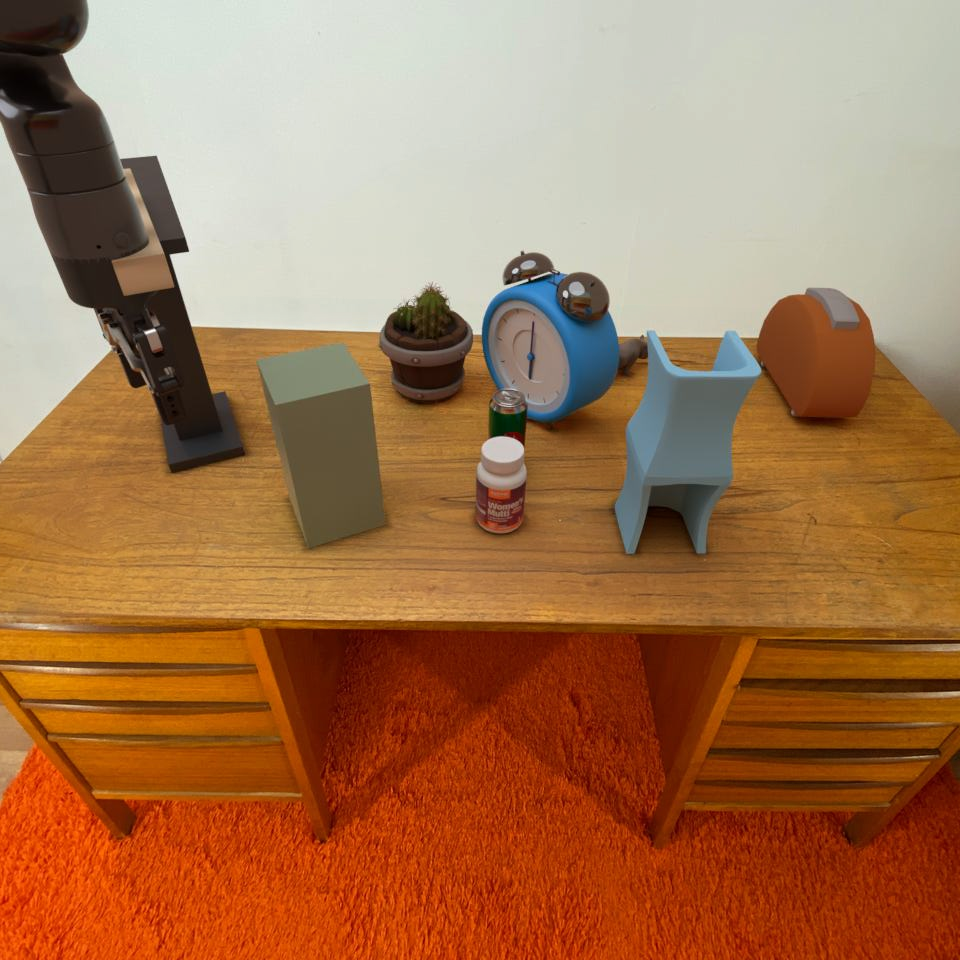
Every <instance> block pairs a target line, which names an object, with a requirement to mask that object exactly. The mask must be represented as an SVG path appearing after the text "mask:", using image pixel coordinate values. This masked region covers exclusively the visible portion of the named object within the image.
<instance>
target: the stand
mask: <svg viewBox="0 0 960 960" xmlns="http://www.w3.org/2000/svg"><path fill="white" fill-rule="evenodd" d="M120 161H121V164H122V167H123V169H129V168H130V169H131V172H132V174H133V177H134V179H135V182H136V184H137V187H138V189H139V192H140V194H141V197H142V199H143V202H144V204H145V207H146V209H147V212H148V214H149V217H150V219H151V222H152V224H153V227H154V229H155V232H156V234H157V237H158V239H159V242H160V244H161V247H162V249H163V252H164V254H165V258H166V261H167V264H168V267H169V271H170V274H171V277H172V280H173V284H174V288H168V289H162V290H159V291H158V292H157V293H156V294H155V295H153V296H151V297H150V298H149V299H148V300H147V301H146V303H145V307H146V308H147V310H148V312H151V311H153V312H154V314H155V316H156V318H157V320H158V322H159V324H160V325H163V326H164V327H165V328H166V329H167V331H168V336H169V339H170V342H171V345H172V348H173V351H174V353H175V356H176V359H177V362H178V365H179V368H180V371H181V374H182V377H183V378H184V380H185V386H186V387H184V388H181V389H178V390H179V393H180V396H181V399H182V402H183V405H184V408H185V411H186V414H187V417H186V418H185V419H184V420H182V421H179V422H177V423H174V424H171V425H165V424H164V423H163V422H162V420H161V418H160V417H159V418H160V424H161V430H162V436H163V441H164V448H165V454H166V459H167V465H168V468H169V470H170V473H171V474H173V473H178V472H180V471H185V470H188V469H193V468H197V467H200V466H205V465H208V464H213V463H217V462H220V461H225V460H228V459H233V458H237V457H240V456H245V455H246V452H245V448H244V445H243V441H242V438H241V435H240V432H239V430H238V426H237V423H236V420H235V417H234V414H233V411H232V408H231V407H232V406H231V405H230V402H229V398H228V395H227V392H226V390H223V391H219V392H212V389H211V386H210V382H209V379H208V376H207V373H206V369H205V366H204V363H203V359H202V357H201V353H200V349H199V346H198V343H197V339H196V337H195V334H194V329H193V327H192V323H191V320H190V317H189V314H188V309H187V306H186V302H185V300H184V297H183V293H182V290H181V286H180V283H179V281H178V277H177V274H176V270H175V267H174V264H173V261H172V260H173V259H172V257H171V255H178V254H184V253H189V252H190V248H189V245H188V242H187V237H186V235H185V232H184V230H183V227H182V223H181V221H180V218H179V215H178V212H177V210H176V207H175V204H174V201H173V197H172V194H171V193H170V189H169V187H168V183H167V181H166V178H165V175H164V172H163V170H162V167H161V164H160V161H159V158H158V155H148V156H146V155H145V156H137V157H135V156H134V157H126V158H120ZM165 375H167V374H166V372H165V370H164V369H162V370H159V371H158V372H157V376H158V378H159V377H162V376H165Z"/></svg>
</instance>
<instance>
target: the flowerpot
mask: <svg viewBox="0 0 960 960" xmlns="http://www.w3.org/2000/svg"><path fill="white" fill-rule="evenodd" d="M433 283H434V282H433V281H432V282H431V283H430V282H429V281H427V284H428V285H426V287H422V289H420V291H419V293H418V295H416V294H414V296H412V297H414V298H412V299H411V298H409V299H408V301H407V300H406V298H404V297H403V303H404V304H403V306H402V302H401V303H400V302H399V304H398V306H397V307H393V310H395V311H393V312H392V313H390V314H389V315H388V317H387V319H386V321H385V324H383V326H382V328H381V329H380V331H379V338H378V340H379V341H378V345H377V346H378V348H379V349H380V350H381V352H382V353H383V354H384V355H385V356H386V357H387V358H389V361H390V365H391V368H392V370H391V372H390V377H391V385H392V386H393V387H394V388H395V390H396V391H397V392H398V393H400V395H401V396H402V397H403V398H405V399H408V401H411V402H414V403H419V404H433V403H436V402H438V403H443V402H446V401H448V400H451V399H452V398H453V397H454V396H456V394H457V393H458V391H459V390H460V389H461V388H462V387H463V386H462V385H463V383H464V379H465V376H466V370H465V367H464V365H465V360H466V356H467V355H468V354H469V353H470V352H471V350H472V347H473V344H474V332H473V330H474V329H473V327H472V326H471V325H470V324H469V322H467V321H466V320H465V319H464V318H463V317H462V316H461V315H460V314H459V313H457V312H456V311H454V310H453V309H452V307H450V305H451V304H450V303H451V302H450V298H448V295H446V293H445V294H444V290H441V286H440V285H439V286H436V285H437V284H438V282H436V283H435V284H434V286H433ZM410 301H411V302H413V303H412V304H413V305H412V304H409V302H410Z"/></svg>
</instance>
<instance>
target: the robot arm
mask: <svg viewBox="0 0 960 960" xmlns="http://www.w3.org/2000/svg"><path fill="white" fill-rule="evenodd" d="M89 21H90V10H89V2H88V0H0V124H1V126H2V130H3V133H4V135H5V139H6V141H7V144H8V146H9V149H10V151H11V153H12V156H13V158H14V161H15V163H16V166H17V168H18V170H19V173H20V175H21V177H22V180H23V182H24V185H25V188H26V190H27V193H28V196H29V199H30V202H31V203H30V204H31V207H32V210H33V214H34V217H35V220H36V223H37V226H38V228H39V231H40V232H41V235H42V237H43V239H44V242H45V245H46V247H47V249H48V252H49V253H50V256H51V258H52V261H53V263H54V266H55V268H56V270H57V273H58V275H59V278H60V280H61V282H62V285H63V287H64V289H65V291H66V294H67V296H68V298H69V299H70V300H71V302H72V303H74V304H76V305H78V306H79V307H82V308H88V309H93V311H94V313H95V316H96V319H97V321H98V324H99V326H100V329H101V331H102V336H103V339H104V340H106V342H108V343H109V345H110V347H111V348H110V349H111V350H112V352H113V353H115V355H117V357H118V360H119V362H120V365H121V367H122V369H123V372H124V374H125V376H126V380H127V383H128V384H129V385H130V386H131V387H132V388H133V389H139V388H142V387H145V386H146V388H147V390H148V391H149V392H150V394H151V397H152V399H153V402H154V405H155V407H156V411H157V413H158V415H159V418H161V419H160V421H161V420H162V422H163V423H164V424H165V425H171V424H174V423H177V422H179V421H182V420H184V419H185V418H186V417H187V414H186V411H185V408H184V405H183V402H182V399H181V396H180V393H179V390H178V389H181V388H184V387H186V386H185V380H184V378H183V377H182V374H181V371H180V368H179V365H178V362H177V359H176V356H175V353H174V351H173V348H172V345H171V342H170V339H169V336H168V331H167V329H166V328H165V327H164V326H163V325H160V324H159V322H158V320H157V318H156V316H155V314H154V312H153V311H151V312H148V310H147V308H146V307H145V303H146V301H147V300H148V299H149V298H150V297H151V296H153V295H155V294H156V293H157V292H158V291H159V290H156V291H151V292H145V293H139V294H133V295H127V296H124V295H123V292H122V289H121V287H120V284H119V281H118V278H117V276H116V273H115V270H114V268H113V265H112V262H111V260H114V259H119V258H124V257H127V256H130V255H133V254H135V253H137V252H139V251H141V250H142V249H144V248H145V247H146V246H147V245H148V244H149V238H148V235H147V232H146V229H145V226H144V223H143V219H142V216H141V213H140V210H139V207H138V204H137V202H136V200H135V197H134V195H133V193H132V191H131V189H130V187H129V184H128V182H127V179H126V177H125V173H124V170H123V167H122V164H121V161H120V159H121V158H120V154H119V152H118V149H117V145H116V143H115V139H114V136H113V133H112V130H111V128H110V125H109V122H108V120H107V117H106V116H105V113H104V111H103V109H102V108H101V106H100V104H98V102H96V100H95V99H94V98H92V97H91V96H89V94H87V93H86V92H85V91H83V89H81V88H80V86H79V85H78V83H77V82H76V81H75V78H74V77H73V74H72V72H71V70H70V68H69V66H68V64H67V61H66V58H65V56H64V54H67V53H68V52H70V51H72V50H74V49H75V48H76V47H77V46H78V45H79V44H80V43H81V42H82V40H83V39H84V37H85V35H86V34H87V30H88V27H89ZM162 369H164V370H165V372H166V374H167V375H165V376H162V377H159V378H158V376H157V372H158V371H159V370H162Z"/></svg>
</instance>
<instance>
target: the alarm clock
mask: <svg viewBox="0 0 960 960" xmlns="http://www.w3.org/2000/svg"><path fill="white" fill-rule="evenodd" d="M519 252H520V255H517V256H516V257H513V258H512V259H510V260H509V262H507V264H506V265H505V267H504V268H503V272H502V278H501V279H502V284H503V286H508V285H513V284H515V283H516V284H517V283H519V282H521V283H519V284H517V285H513V286H511V287H508V288H505V289H503V290H502V291H500V292H499V293H498V294H496V295H495V296H494V297H493V298H492V299H491V300H490V302H489V304H488V306H487V308H486V310H485V312H484V315H483V319H482V324H481V325H482V326H481V347H482V353H483V357H484V358H483V359H484V362H485V364H486V368H487V371H488V374H489V375H490V378H491V380H492V383H493V384H494V385H495V387H496V388H497V391H498V390H500V389H515V390H518V391H520V392H522V393H523V394H524V395H525V400H526V401H527V404H528V409H527V419H529V420H532V421H535V422H539V423H547V426H548V427H549V429H550V431H553V430H555V426H554V423H555V422H558V421H560V420H562V419H564V418H567V417H569V416H570V415H572V414H574V413H575V412H578V411H579V410H581V409H583V408H585V407H587V406H589V405H591V404H592V403H594V402H597V401H598V400H600V399H601V398H602V397H603V396H605V394H607V393H608V391H609V390H610V389H611V387H612V386H613V384H614V381H615V379H616V376H617V374H618V370H619V368H618V365H619V344H620V342H619V336H618V332H617V328H616V325H615V322H614V320H613V317H612V315H611V313H610V310H609V309H610V303H611V299H610V298H611V296H610V293H609V289H608V288H607V286H606V284H605V283H604V282H603V281H602V279H600V278H599V277H598V276H596V275H594V274H592V273H590V272H587V271H574V272H570V273H568V274H567V273H561V271H559V270H557V269H555V265H554V263H553V261H552V259H551V258H549V256H547V255H545V254H544V253H541V252H535V251H532V252H531V251H530V252H526V253H525V251H524V250H521V251H519ZM546 273H547V274H546ZM544 274H545V275H544ZM535 277H536V278H535ZM532 278H533V279H532ZM526 280H527V281H526ZM522 281H525V282H522Z"/></svg>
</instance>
